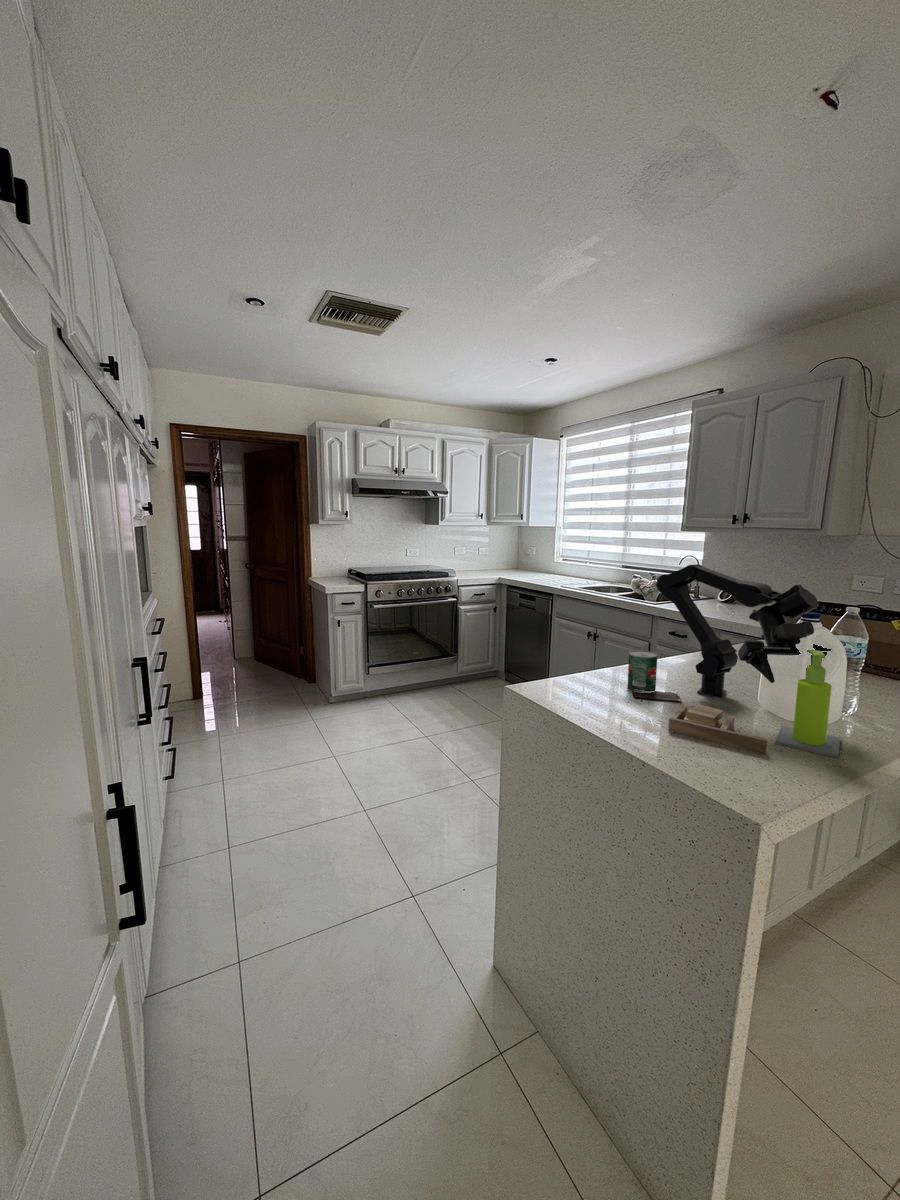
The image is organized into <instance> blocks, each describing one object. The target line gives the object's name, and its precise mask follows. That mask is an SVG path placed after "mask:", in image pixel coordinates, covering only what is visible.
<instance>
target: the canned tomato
mask: <svg viewBox="0 0 900 1200" xmlns="http://www.w3.org/2000/svg"><path fill="white" fill-rule="evenodd" d="M627 666H628V667H627V668H628V669H627V687H626V689H627V690H628V691H630V692H632V690H634V689H638V690H644V691H655V690H656V689H657V687H656V686H657V670H658V668H657V667H658V653H657V652H654V651H649V650H641V649H639V650H630V651H628V665H627ZM656 691H657V690H656ZM656 691H655V692H656Z"/></svg>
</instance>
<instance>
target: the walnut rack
mask: <svg viewBox="0 0 900 1200" xmlns="http://www.w3.org/2000/svg"><path fill="white" fill-rule="evenodd" d="M687 711H688V706H685V705H681V706H680V707H679V708H678V709H677V710H676V711H675V712H674V713H673V714H672V716H670V717H669V718H668V731H669V732H671V731H673V732H672V733H676V732H677V734H680V733H681V735H684V734H685V736H688V735H689V737H693V738H697V739H700V740H705V741H708V742H713V743H717V744H722V745H726V746H730V747H733V748H738V749H742V750H745V749H746V750H745V751H749V750H750V752H753V751H754V753H758V754H762V755H766V753H767V747H768V738H764V737H760V736H755V735H750V734H746V733H743V732H739V731H738V732H737V731H734V729H735V720H736V719H735V718H736V716H734V715H728V716H727V718H726V719H725V720H724V722H722V726H721V728H716V727H712V726H707V725H703V724H699V723H694V722H690V721H685V720H684V718H685V717H686V714H687Z"/></svg>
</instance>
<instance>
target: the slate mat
mask: <svg viewBox="0 0 900 1200" xmlns="http://www.w3.org/2000/svg"><path fill="white" fill-rule="evenodd" d="M793 728H794V727H792V726H786V725H781V726H780V729H779V731H778V733H777V735H776V738H775V743H774V744H776V745H779V746H784V747H789V748H794V749H798V750H802V751H806V752H810V753H816V754H818V755H823V756H827V757H831V758H837V759H839V754H840V744H841V737H839V736H835V735H829V734H826V742H825V744H824V745H819V746H817V745H809V744H805V743H801V742H799V741H797V740H795V739H794V738H793Z"/></svg>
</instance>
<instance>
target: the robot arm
mask: <svg viewBox="0 0 900 1200" xmlns="http://www.w3.org/2000/svg"><path fill="white" fill-rule="evenodd" d="M694 581H696V582H699V583H702V584H705V585H707V586H709V587H712V588H714V589H716V590H720V591H721V592H724V593H726V594H729V595H730V596H731V597H732V598H733V599H734V600H736V601H737V602H739V603H740V604H741V605H743V606H745V607H748V608H754V607H755V608H756V607H760V606H762V607H760V608H758V609H753V610H752V612H751V613H750V614H749V616H748V618H749V620H753V621H755V622H757V623H759V625H760V629H761V632H762V634H761V636H760V638H761V640H745V642H744V643H743V644H742V645H741V646H740V648H739V649H738V650H737V649H735V647H734V646H733V644H732V643H731V641H730V639H728V638H726V639H722V638H720V637H718V636H717V635H716V633H715V631H714V630H713V628H712V627H711V625H710V624H709V623H708V620H707V619H706V618H705V617H704V615H703V613H702V612H701V610H700V609H699V608H698V606H697V605H696V603H695V601H694V600H693V598H692V597H691V595H690V586H689V585H690V584H692V583H693V582H694ZM655 587H656V590H657V591H658V592H659V593H660V594H661V595H662V596H663V597H664V598H665V599H666V600H668V601H670V602H671V603H673V604H674V606H675V608H676V609H677V610H678V612H679V614H680V615H681V616H682V618H683V620H684V621H685V623H686V624H687V626H688V627H689V629H690V630H691V632H692V634H693V635H694V636H695V638H696V640H697V641H698V643H699V645H700V653H701V656H702V658H703V660H701V661H699V662H698V663H697V664H696V665H695V669H696V672H697V674H701V682H700V683H701V686H700V688H699V689H698V690H697V691H696V693H697V694H698V695H704V696H710V697H715V698H720V699H723V697H725V695H726V694H727V690H725V689H724V687H725V673H730V672H731V670H732V668H734V667H735V666H736V664H737V663H738V659H739V661H741V662H745V663H746V664H748V665H751V666H752V667H753V668H755V669H756V670H757V671H759V673H760V674H762V676H763V677H764V678H765V679H766V680H768V682H770V684H774V683H775V678H774V677H775V676H774V673H773V670H772V667H771V665H770V663H769V662H770V661H769V659H768V655H770V656H771V655H772V656H773V655H774V656H793V655H799V654H801V653H800V652H799V650H798V649H797V648H796V647H797V646H796V645H799V644H800V643H802V642H801V639H803V638H805V639H806V638H807V637H808V636H811V635H813V634H814V632H815V628H814V625H813V623H812V621H811V622H810V620H809V621H807V620H806V621H805V620H803V621H802V623H801V622H788V621H787V619H786V618H790V619H793V620H794V619H795V620H796V619H797V618H800V617H802V616H803V614H804V615H805V614H807V613H809V612H811V611H813V610H815V609H817V608H819V601H818V598H817V597H816V596H815V595H814V594H812V592H811V591H810V590H808V589H806V588H805V587H803V586H802V585H801V584H795V585H793V586H792V587H790V588H789V589H788V590H786V591H784V592H783V593H781V592H779V591H776V590H773V589H772V587H771V586H770V585H769V584H766V583H761V582H755V581H751V580H750V581H747V580H743V579H742V580H741V579H738V578H735V577H732V576H729V575H727V574H724V573H721V572H719V571H716V570H713V569H711V568H708V567H705V566H704V565H701V564H699V563H697V564H689V565H687V566H684V567H683V568H681V569H679V570H676V571H673V572H670V573H666V574H665V573H664V574H661V575H659V576H658V578H657V580H656V584H655ZM768 604H771V605H768ZM801 615H802V616H801ZM764 641H765V643H764ZM765 644H766V646H765ZM813 648H814V649H815V650H819V651H831V650H832V648H831V649H827V648H823V647H822V646H818V645H815V644H813ZM736 652H737V653H736ZM822 653H823V654H824V655H825V656H826V655H827V652H822ZM812 656H813V655H811V665H812Z"/></svg>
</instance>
